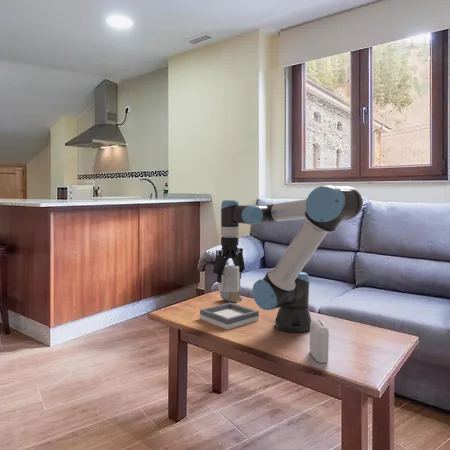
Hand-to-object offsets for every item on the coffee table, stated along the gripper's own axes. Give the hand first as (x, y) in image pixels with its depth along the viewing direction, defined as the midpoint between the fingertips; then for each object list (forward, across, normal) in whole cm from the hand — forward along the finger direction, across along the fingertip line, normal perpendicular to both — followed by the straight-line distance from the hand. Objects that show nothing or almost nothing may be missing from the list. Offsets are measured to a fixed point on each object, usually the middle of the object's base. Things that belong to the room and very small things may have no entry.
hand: (229, 288), depth 165 cm
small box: (+1, 0, 0) cm, 1 cm away
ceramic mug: (+14, -22, -22) cm, 34 cm away
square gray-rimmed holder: (+14, 0, 0) cm, 14 cm away
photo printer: (+14, +4, +48) cm, 50 cm away
